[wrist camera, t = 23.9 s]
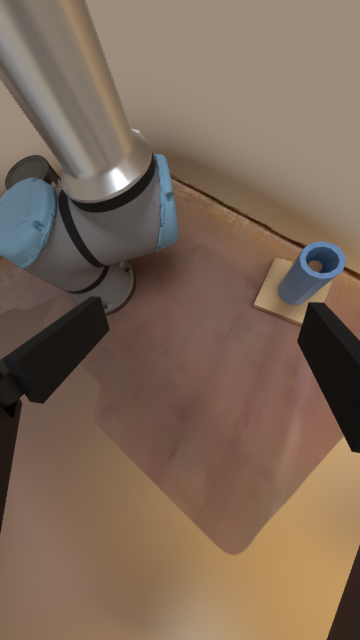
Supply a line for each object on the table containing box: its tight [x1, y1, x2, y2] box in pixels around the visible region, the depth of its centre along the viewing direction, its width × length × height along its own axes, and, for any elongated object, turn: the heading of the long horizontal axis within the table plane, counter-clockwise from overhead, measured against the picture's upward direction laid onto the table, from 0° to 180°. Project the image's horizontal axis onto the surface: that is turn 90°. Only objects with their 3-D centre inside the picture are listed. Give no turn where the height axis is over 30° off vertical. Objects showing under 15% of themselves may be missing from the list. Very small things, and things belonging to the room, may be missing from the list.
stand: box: [253, 257, 333, 326], centre depth 35 cm, size 11×11×11 cm
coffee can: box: [5, 155, 63, 192], centre depth 49 cm, size 10×10×14 cm
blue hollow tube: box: [278, 242, 346, 305], centre depth 33 cm, size 6×6×11 cm
